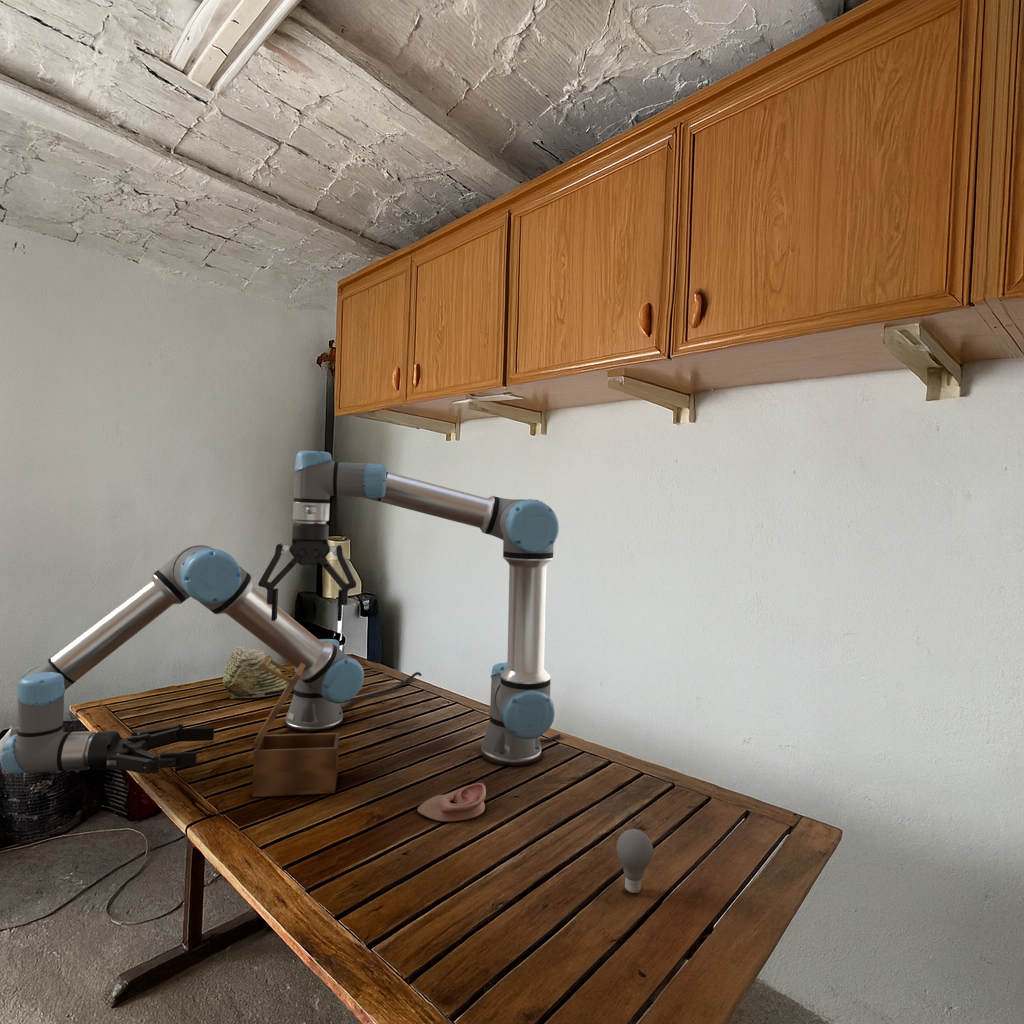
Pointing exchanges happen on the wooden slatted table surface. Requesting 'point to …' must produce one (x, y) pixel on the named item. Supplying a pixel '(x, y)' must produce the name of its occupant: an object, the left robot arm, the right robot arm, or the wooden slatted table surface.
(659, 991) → the wooden slatted table surface
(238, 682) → the fossil
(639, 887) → the light bulb
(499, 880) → the wooden slatted table surface
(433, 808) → the anatomical model
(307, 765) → the chest
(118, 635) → the left robot arm
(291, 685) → the lid
